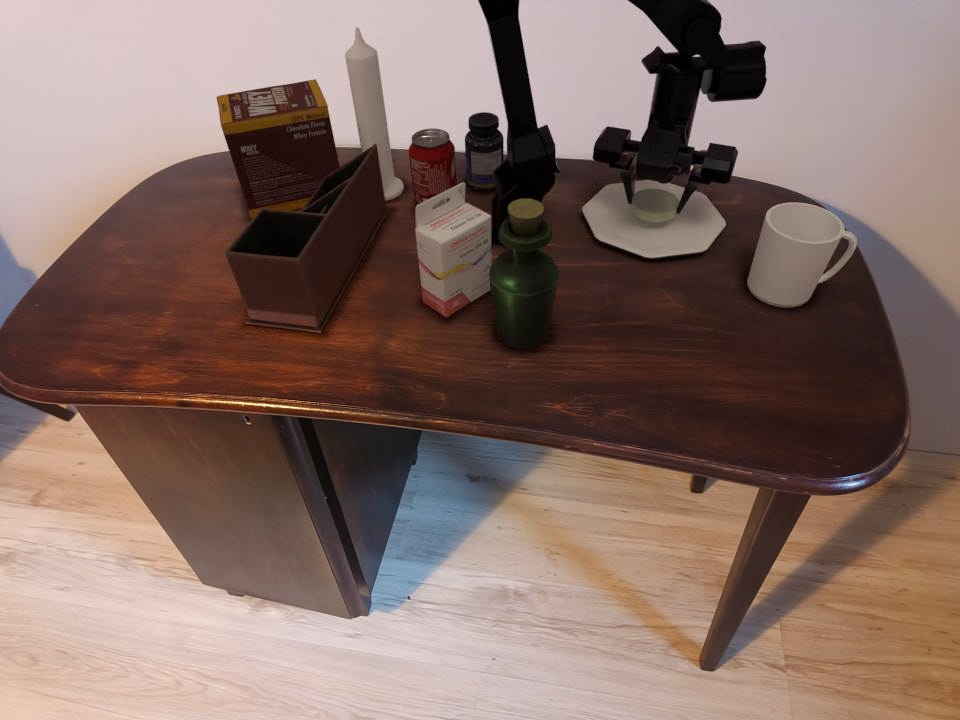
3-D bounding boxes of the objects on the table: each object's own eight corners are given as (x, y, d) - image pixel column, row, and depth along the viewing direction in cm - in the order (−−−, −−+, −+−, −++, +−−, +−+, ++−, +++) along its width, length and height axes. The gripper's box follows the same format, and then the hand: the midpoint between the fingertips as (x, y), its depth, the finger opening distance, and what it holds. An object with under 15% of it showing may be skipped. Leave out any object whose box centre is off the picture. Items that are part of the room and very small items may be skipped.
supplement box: (347, 199, 103) (328, 104, 92) (250, 219, 100) (218, 123, 88) (336, 169, 110) (316, 77, 99) (245, 187, 106) (214, 94, 95)
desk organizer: (245, 325, 82) (217, 254, 74) (328, 203, 102) (313, 137, 94) (322, 335, 81) (301, 263, 72) (391, 209, 100) (381, 142, 92)
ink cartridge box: (447, 320, 82) (438, 222, 71) (422, 302, 84) (410, 206, 74) (494, 289, 86) (492, 192, 75) (468, 273, 88) (463, 178, 78)
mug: (740, 302, 83) (763, 235, 75) (745, 262, 88) (767, 197, 81) (832, 320, 80) (865, 253, 72) (831, 278, 86) (861, 211, 78)
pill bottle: (472, 172, 108) (469, 108, 100) (507, 175, 107) (507, 111, 99) (462, 190, 104) (459, 126, 96) (499, 194, 103) (498, 129, 95)
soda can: (453, 223, 97) (447, 150, 89) (410, 219, 98) (401, 146, 90) (462, 199, 102) (458, 128, 93) (421, 196, 103) (414, 125, 94)
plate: (622, 176, 105) (623, 168, 104) (739, 213, 97) (741, 204, 96) (560, 234, 94) (561, 225, 93) (686, 280, 86) (689, 271, 85)
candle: (401, 201, 102) (379, 36, 84) (357, 202, 102) (326, 37, 84) (405, 178, 107) (385, 17, 89) (364, 179, 107) (335, 19, 89)
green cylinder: (624, 221, 93) (626, 208, 92) (635, 197, 98) (637, 185, 96) (671, 230, 91) (674, 217, 90) (680, 206, 96) (683, 193, 94)
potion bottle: (507, 364, 76) (508, 238, 63) (479, 322, 81) (474, 199, 68) (567, 343, 78) (579, 217, 65) (536, 304, 83) (541, 181, 71)
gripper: (586, 118, 80) (576, 223, 91) (740, 142, 75) (709, 251, 86) (610, 84, 87) (598, 185, 98) (752, 103, 82) (722, 209, 93)
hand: (653, 207), depth 94 cm, fingers closed on green cylinder, 7 cm apart
